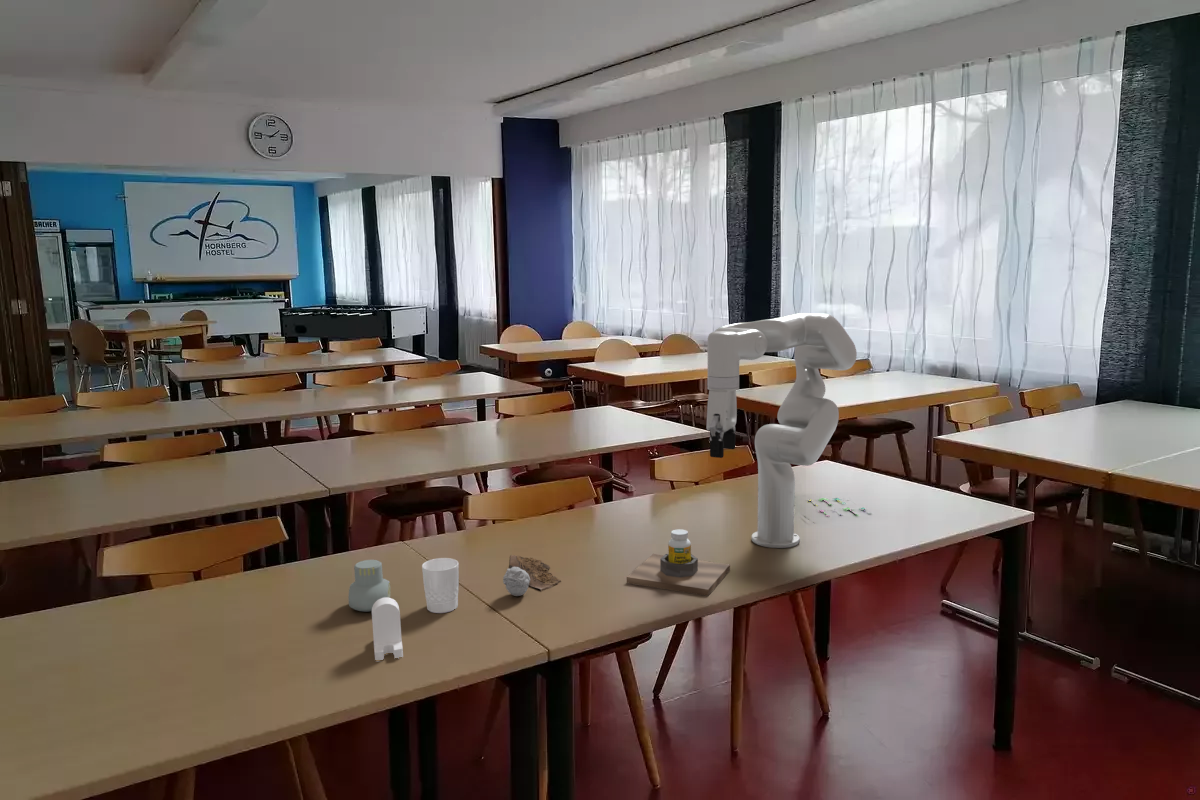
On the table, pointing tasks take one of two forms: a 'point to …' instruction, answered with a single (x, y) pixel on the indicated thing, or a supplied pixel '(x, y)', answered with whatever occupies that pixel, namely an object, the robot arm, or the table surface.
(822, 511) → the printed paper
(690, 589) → the holder
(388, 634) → the white phone stand
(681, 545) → the supplement bottle
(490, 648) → the table surface
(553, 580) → the wooden fragment
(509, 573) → the crumpled paper ball
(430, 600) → the white cup
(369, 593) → the air freshener
